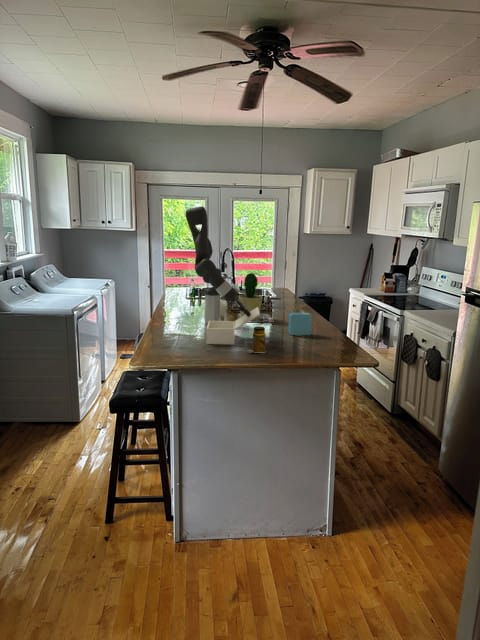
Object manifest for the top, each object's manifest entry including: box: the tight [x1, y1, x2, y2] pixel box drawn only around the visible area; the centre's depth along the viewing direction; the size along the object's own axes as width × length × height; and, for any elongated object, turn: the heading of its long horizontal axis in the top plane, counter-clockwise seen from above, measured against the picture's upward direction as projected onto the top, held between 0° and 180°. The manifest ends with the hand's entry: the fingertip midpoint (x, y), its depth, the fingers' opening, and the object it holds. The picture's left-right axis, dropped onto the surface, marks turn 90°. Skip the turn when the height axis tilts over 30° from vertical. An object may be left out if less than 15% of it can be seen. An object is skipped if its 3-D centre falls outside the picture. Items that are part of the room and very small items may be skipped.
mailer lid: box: [234, 307, 261, 330], centre depth 232 cm, size 14×18×1 cm
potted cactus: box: [238, 272, 264, 322], centre depth 283 cm, size 15×15×30 cm
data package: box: [288, 312, 313, 337], centre depth 248 cm, size 12×4×12 cm, turn 95°
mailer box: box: [206, 320, 236, 345], centre depth 234 cm, size 14×18×8 cm
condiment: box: [251, 326, 266, 352], centre depth 213 cm, size 7×8×12 cm
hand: (249, 315), depth 232 cm, fingers closed
